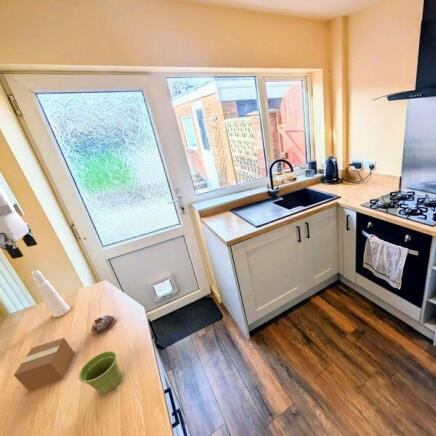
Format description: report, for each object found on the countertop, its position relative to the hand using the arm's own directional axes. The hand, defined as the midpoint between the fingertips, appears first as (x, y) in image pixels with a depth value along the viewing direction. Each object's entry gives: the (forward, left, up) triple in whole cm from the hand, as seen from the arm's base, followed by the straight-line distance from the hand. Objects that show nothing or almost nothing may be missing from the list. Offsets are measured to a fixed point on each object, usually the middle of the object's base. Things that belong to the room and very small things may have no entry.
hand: (25, 251), depth 95 cm
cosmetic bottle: (-1, 0, -32) cm, 32 cm away
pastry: (+20, -19, -32) cm, 42 cm away
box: (+9, -34, -31) cm, 47 cm away
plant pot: (+29, -48, -32) cm, 64 cm away
